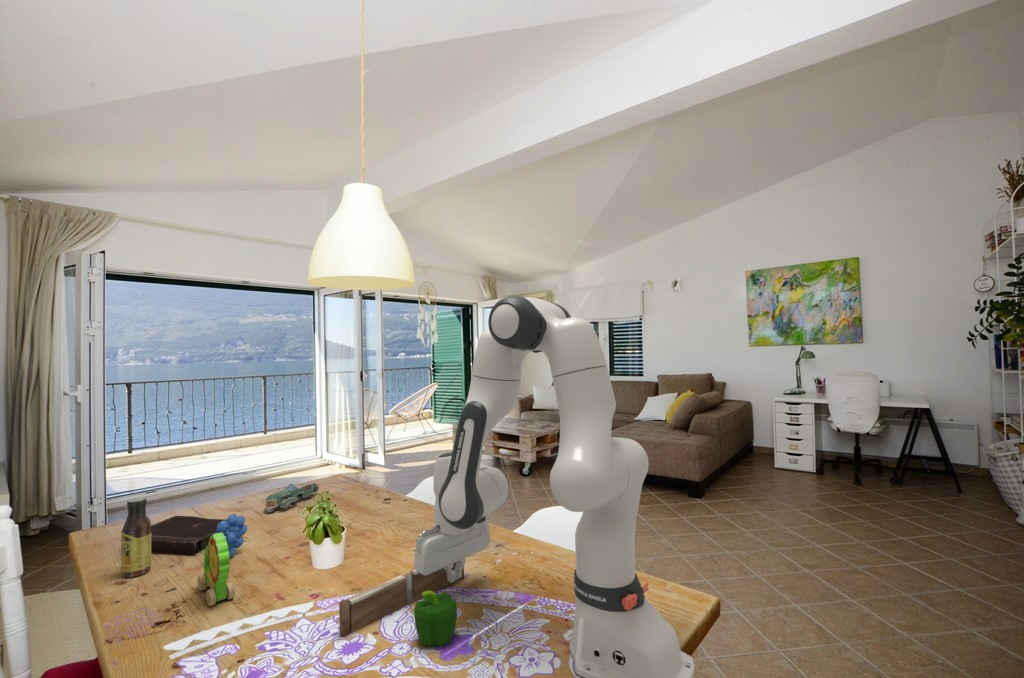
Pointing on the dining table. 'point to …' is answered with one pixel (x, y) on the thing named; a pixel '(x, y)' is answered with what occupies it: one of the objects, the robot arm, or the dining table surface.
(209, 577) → the toy lion
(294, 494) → the hoverbike
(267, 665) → the dining table surface
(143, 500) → the sauce bottle
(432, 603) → the bell pepper
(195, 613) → the dining table surface
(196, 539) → the diary
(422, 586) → the hinged panel
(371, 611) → the fixed fence
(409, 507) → the dining table surface
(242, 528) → the grapes
